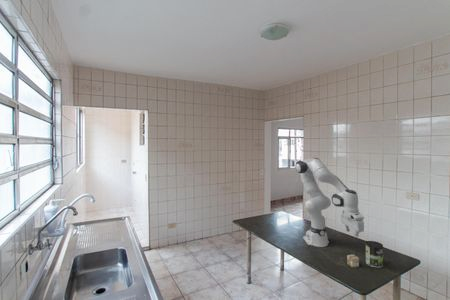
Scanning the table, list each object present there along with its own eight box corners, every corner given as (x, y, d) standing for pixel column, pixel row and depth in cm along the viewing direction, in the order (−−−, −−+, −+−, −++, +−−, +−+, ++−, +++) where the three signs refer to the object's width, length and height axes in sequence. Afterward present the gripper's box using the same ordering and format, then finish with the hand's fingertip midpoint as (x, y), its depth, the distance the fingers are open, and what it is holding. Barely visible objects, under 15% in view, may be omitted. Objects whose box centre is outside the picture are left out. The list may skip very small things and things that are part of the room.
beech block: (347, 263, 166) (347, 255, 166) (353, 262, 167) (353, 254, 167) (352, 267, 161) (352, 258, 161) (358, 266, 162) (358, 257, 162)
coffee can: (386, 265, 162) (386, 245, 161) (376, 269, 158) (376, 248, 157) (372, 258, 171) (371, 239, 171) (362, 262, 167) (362, 242, 167)
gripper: (338, 210, 173) (339, 228, 173) (356, 218, 152) (357, 239, 153) (346, 209, 173) (347, 228, 174) (365, 217, 153) (366, 239, 153)
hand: (352, 233), depth 163 cm, fingers open, 8 cm apart
